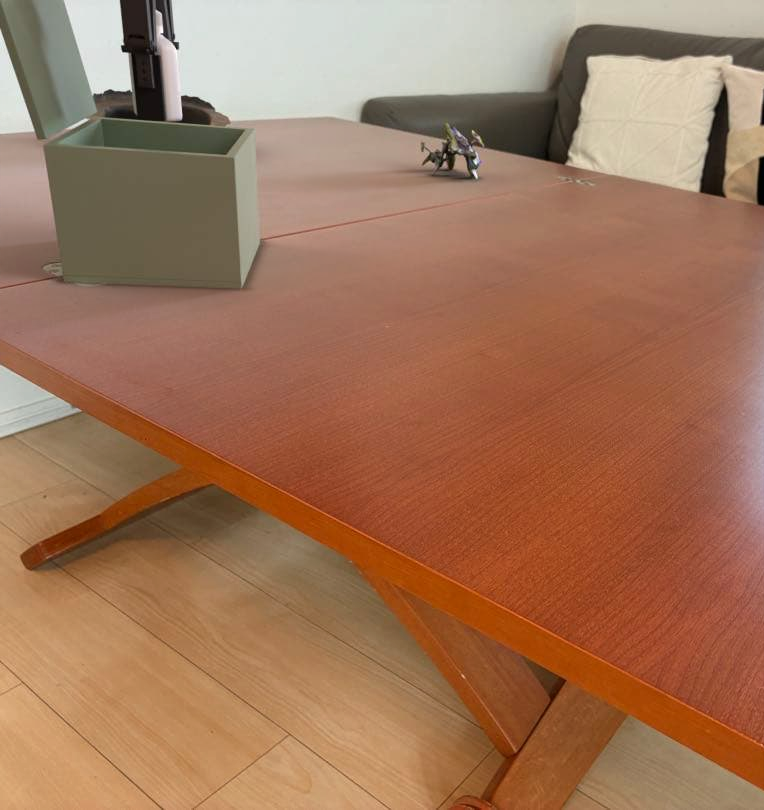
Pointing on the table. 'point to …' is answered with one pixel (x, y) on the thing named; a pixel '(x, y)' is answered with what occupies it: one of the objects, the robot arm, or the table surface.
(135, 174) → the chest
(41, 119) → the chest lid
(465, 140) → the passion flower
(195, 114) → the stone bowl
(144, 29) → the robot arm
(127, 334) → the table surface
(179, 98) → the eye dropper bottle
